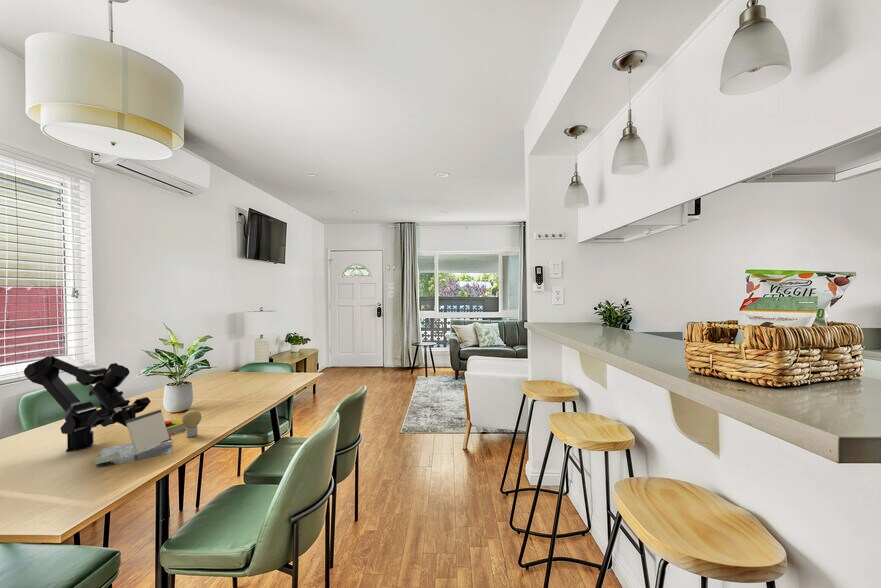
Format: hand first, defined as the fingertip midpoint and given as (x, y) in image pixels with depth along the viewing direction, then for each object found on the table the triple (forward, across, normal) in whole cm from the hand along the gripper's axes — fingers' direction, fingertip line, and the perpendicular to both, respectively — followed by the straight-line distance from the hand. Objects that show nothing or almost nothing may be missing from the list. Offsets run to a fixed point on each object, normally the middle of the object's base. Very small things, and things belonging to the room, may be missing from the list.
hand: (134, 429), depth 140 cm
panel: (+7, +1, -5) cm, 8 cm away
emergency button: (+1, -21, -12) cm, 24 cm away
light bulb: (+10, -18, -2) cm, 21 cm away
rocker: (+7, +10, -4) cm, 13 cm away
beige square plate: (+9, 0, +2) cm, 9 cm away
